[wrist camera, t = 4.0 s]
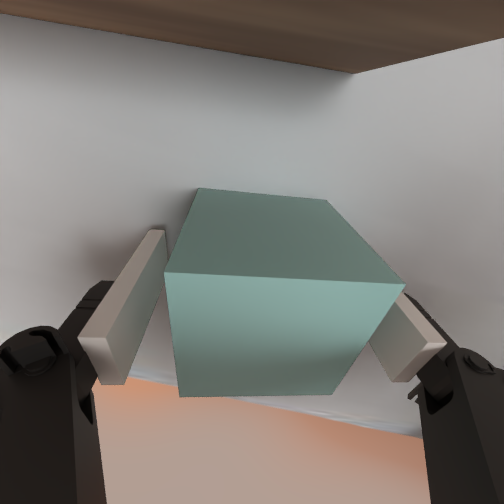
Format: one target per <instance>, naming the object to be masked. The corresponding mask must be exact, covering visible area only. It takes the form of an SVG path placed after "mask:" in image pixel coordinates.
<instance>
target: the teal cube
mask: <svg viewBox="0 0 504 504" xmlns="http://www.w3.org/2000/svg"><path fill="white" fill-rule="evenodd" d="M164 278H165V286H166V294H167V302H168V310H169V318H170V326H171V334H172V342H173V349H174V357H175V365H176V373H177V381H178V389H179V396H180V397H223V396H286V395H332V394H333V392H334V391H335V389H336V388H337V386H338V385H339V383H340V382H341V380H342V379H343V377H344V376H345V374H346V373H347V371H348V370H349V368H350V367H351V365H352V364H353V363H354V361H355V360H356V358H357V357H358V355H359V354H360V352H361V351H362V349H363V348H364V346H365V345H366V343H367V342H368V340H369V339H370V337H371V336H372V334H373V333H374V331H375V330H376V328H377V327H378V325H379V324H380V322H381V321H382V319H383V318H384V316H385V315H386V314H387V312H388V311H389V309H390V308H391V306H392V305H393V303H394V302H395V300H396V299H397V297H398V296H399V294H400V293H401V291H402V290H403V288H404V287H405V285H406V284H405V283H404V282H403V281H402V280H401V279H400V278H399V276H398V275H397V274H396V273H395V272H394V271H393V270H392V269H391V268H390V267H389V266H388V265H387V264H386V263H385V262H384V261H383V260H382V258H381V257H380V256H379V255H378V254H377V253H376V252H375V251H374V250H373V249H372V248H371V247H370V246H369V245H368V244H367V243H366V242H365V240H364V239H363V238H362V237H361V236H360V235H359V234H358V233H357V232H356V231H355V230H354V229H353V228H352V227H351V226H350V225H349V223H348V222H347V221H346V220H345V219H344V218H343V217H342V216H341V215H340V214H339V213H338V212H337V211H336V210H335V209H334V208H333V207H332V205H331V204H330V203H329V202H328V201H327V200H319V199H308V198H298V197H288V196H278V195H267V194H257V193H247V192H236V191H226V190H216V189H206V188H199V189H198V191H197V194H196V196H195V198H194V201H193V203H192V206H191V208H190V210H189V213H188V215H187V218H186V220H185V222H184V225H183V227H182V230H181V232H180V234H179V237H178V239H177V242H176V244H175V246H174V249H173V251H172V254H171V256H170V258H169V261H168V263H167V266H166V268H165V270H164Z"/></svg>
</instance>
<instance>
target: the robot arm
mask: <svg viewBox="0 0 504 504" xmlns="http://www.w3.org/2000/svg"><path fill="white" fill-rule="evenodd" d="M167 263H168V256H167V247H166V238H165V230H154V229H150V230H149V231H148V233H147V234H146V236H145V237H144V239H143V240H142V242H141V243H140V245H139V246H138V248H137V249H136V251H135V252H134V254H133V255H132V257H131V258H130V260H129V261H128V263H127V264H126V266H125V267H124V269H123V270H122V271H121V273H120V274H119V276H118V277H117V279H116V280H115V281H100V282H99V283H98V284H96V285H95V286H93V287H92V288H90V289H89V291H88V292H87V293H86V295H85V296H84V297H83V298H82V301H80V302H79V304H78V305H77V306H76V309H74V310H73V311H72V312H71V314H70V315H69V316H68V318H67V319H66V320H65V321H64V323H63V324H62V325H61V327H60V328H59V329H58V330H57V329H55V328H53V327H51V326H38V327H33V328H29V329H26V330H24V331H22V332H19V333H17V334H15V335H14V336H12V337H11V338H9V339H8V340H6V341H5V342H4V343H3V344H2V345H1V346H0V504H107V502H106V494H105V485H104V477H103V469H102V462H101V461H102V460H101V452H100V444H99V436H98V428H97V419H96V412H95V403H94V395H93V392H92V390H91V389H92V387H93V385H94V383H95V381H96V379H97V377H98V379H99V381H100V383H101V385H124V383H125V381H126V379H127V376H128V374H129V371H130V368H131V366H132V363H133V361H134V358H135V356H136V353H137V351H138V348H139V346H140V343H141V340H142V338H143V335H144V333H145V330H146V328H147V325H148V323H149V320H150V317H151V315H152V312H153V310H154V307H155V305H156V302H157V300H158V297H159V295H160V292H161V289H162V287H163V284H164V282H165V278H164V270H165V268H166V266H167ZM368 341H369V343H370V345H371V347H372V348H373V350H374V352H375V354H376V355H377V357H378V359H379V361H380V362H381V364H382V366H383V368H384V370H385V371H386V373H387V375H388V377H389V378H390V380H391V382H409V381H410V380H411V379H412V378H413V377H414V376H415V375H417V376H418V378H419V379H420V381H421V382H420V383H419V384H418V385H417V386H416V387H415V388H414V389H413V390H412V391H411V392H410V393H409V394H408V399H410V400H411V399H412V398H413V397H414V396H415V395H417V394H418V398H417V399H416V400H415V402H416V403H418V404H419V409H420V418H421V426H422V434H423V442H424V450H425V459H426V467H427V475H428V483H429V490H430V499H431V504H504V370H502V369H499V368H495V367H494V366H493V365H492V364H491V363H490V362H489V361H488V360H486V359H485V358H484V357H482V356H481V355H479V354H478V353H476V352H474V351H472V350H469V349H466V348H459V347H458V346H457V345H456V343H455V342H454V341H453V340H452V339H451V338H450V337H449V336H448V335H447V334H446V333H445V332H444V330H443V329H442V328H441V327H440V326H439V325H438V324H437V323H436V322H435V321H434V320H433V319H431V316H430V315H429V314H428V313H427V312H425V311H424V309H423V308H422V306H421V305H420V304H419V303H418V302H417V301H416V300H414V299H413V298H412V297H410V296H409V295H407V294H406V293H403V292H402V291H401V293H400V294H399V296H398V297H397V299H396V300H395V302H394V303H393V305H392V306H391V308H390V309H389V311H388V312H387V314H386V315H385V316H384V318H383V319H382V321H381V322H380V324H379V325H378V327H377V328H376V330H375V331H374V333H373V334H372V336H371V337H370V339H369V340H368Z"/></svg>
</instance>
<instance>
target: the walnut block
mask: <svg viewBox="0 0 504 504" xmlns="http://www.w3.org/2000/svg"><path fill="white" fill-rule="evenodd" d="M0 13H3V14H9V15H15V16H21V17H27V18H32V19H38V20H44V21H50V22H56V23H62V24H68V25H73V26H79V27H85V28H91V29H97V30H103V31H109V32H114V33H120V34H126V35H132V36H138V37H144V38H150V39H155V40H161V41H167V42H173V43H179V44H185V45H191V46H196V47H202V48H208V49H214V50H220V51H226V52H232V53H237V54H243V55H249V56H255V57H261V58H267V59H273V60H278V61H284V62H290V63H296V64H302V65H308V66H313V67H319V68H325V69H331V70H337V71H343V72H349V73H354V74H356V73H360V72H364V71H368V70H373V69H377V68H381V67H385V66H389V65H393V64H397V63H401V62H405V61H410V60H414V59H418V58H422V57H426V56H430V55H434V54H438V53H442V52H446V51H451V50H455V49H459V48H463V47H467V46H471V45H475V44H479V43H483V42H488V41H492V40H496V39H500V38H504V0H0Z"/></svg>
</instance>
